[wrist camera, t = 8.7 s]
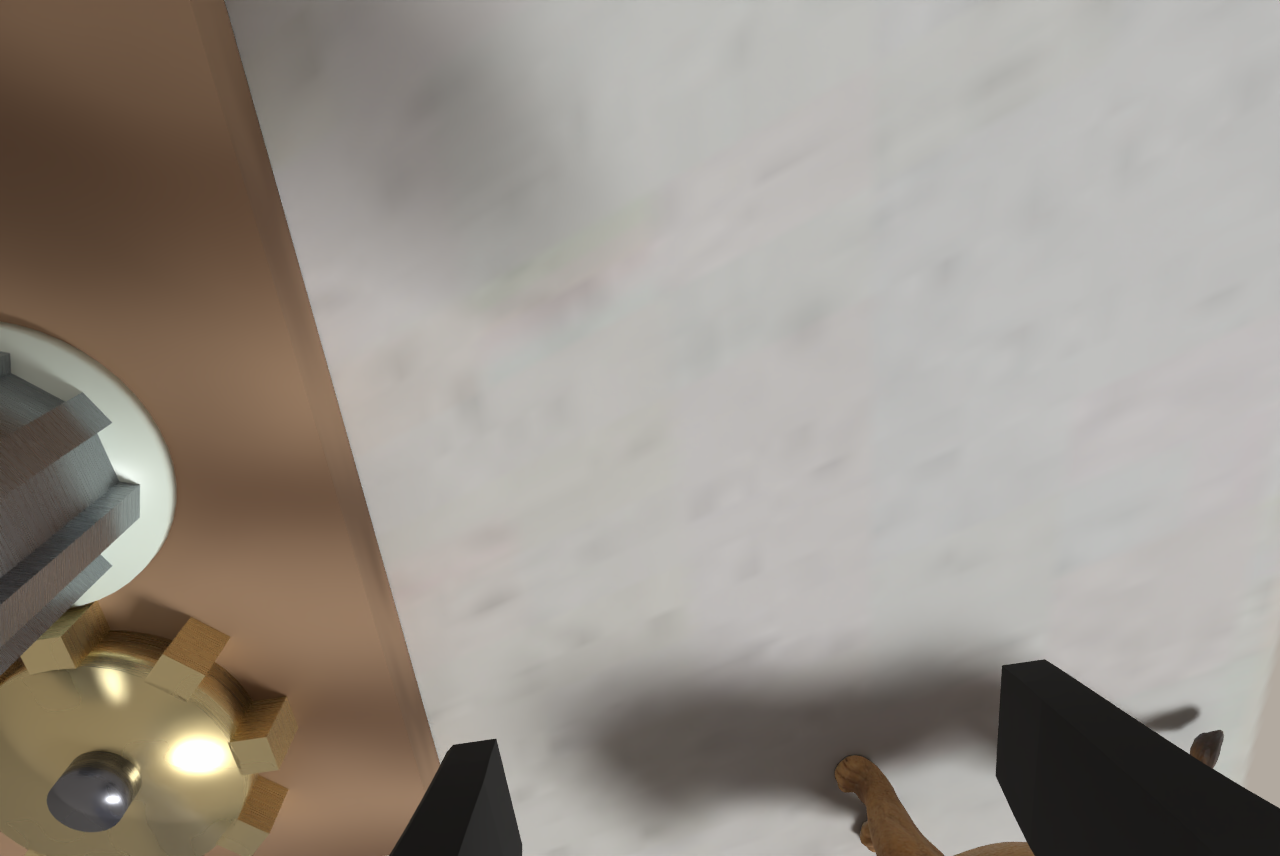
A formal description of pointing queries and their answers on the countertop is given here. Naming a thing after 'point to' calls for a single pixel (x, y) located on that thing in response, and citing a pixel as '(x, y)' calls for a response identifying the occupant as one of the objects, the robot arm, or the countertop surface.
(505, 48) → the countertop surface
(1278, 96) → the countertop surface
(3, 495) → the grey gear
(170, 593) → the gear board
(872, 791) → the lion figurine
